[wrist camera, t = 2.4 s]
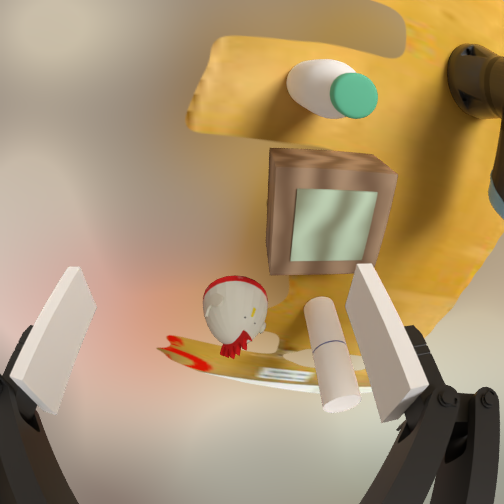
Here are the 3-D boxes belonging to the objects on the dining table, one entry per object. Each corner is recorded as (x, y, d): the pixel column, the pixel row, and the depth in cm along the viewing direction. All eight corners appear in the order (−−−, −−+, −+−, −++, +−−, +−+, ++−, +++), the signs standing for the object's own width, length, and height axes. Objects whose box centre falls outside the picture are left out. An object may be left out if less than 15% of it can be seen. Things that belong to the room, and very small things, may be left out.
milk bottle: (282, 103, 41) (310, 127, 25) (289, 56, 37) (323, 48, 21) (330, 111, 42) (384, 142, 26) (338, 66, 38) (399, 70, 21)
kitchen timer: (280, 298, 65) (288, 353, 52) (238, 329, 70) (238, 382, 58) (232, 264, 59) (230, 321, 46) (191, 301, 64) (182, 356, 52)
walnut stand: (373, 154, 46) (399, 175, 38) (356, 242, 56) (373, 273, 48) (269, 148, 46) (276, 167, 37) (265, 242, 56) (270, 276, 48)
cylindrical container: (335, 295, 65) (365, 392, 44) (331, 316, 69) (356, 408, 48) (304, 298, 65) (326, 398, 44) (302, 319, 69) (320, 414, 48)
